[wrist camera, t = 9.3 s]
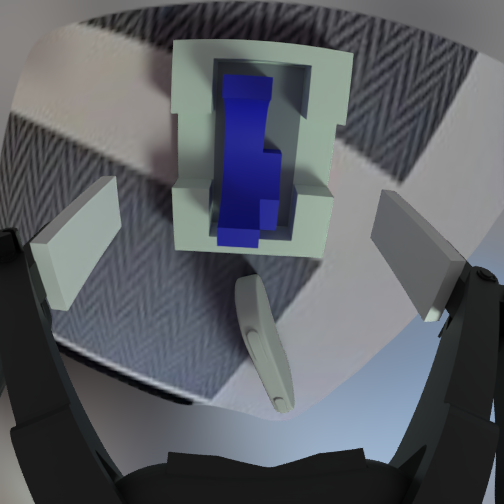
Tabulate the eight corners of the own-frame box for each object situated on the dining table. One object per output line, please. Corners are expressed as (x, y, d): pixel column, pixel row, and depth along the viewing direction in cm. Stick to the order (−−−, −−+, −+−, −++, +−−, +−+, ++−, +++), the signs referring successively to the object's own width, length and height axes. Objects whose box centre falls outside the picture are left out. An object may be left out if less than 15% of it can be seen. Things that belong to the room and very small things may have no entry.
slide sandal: (233, 263, 33) (229, 319, 25) (255, 258, 32) (256, 313, 25) (275, 374, 42) (279, 425, 35) (291, 371, 42) (297, 422, 35)
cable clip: (273, 215, 28) (278, 249, 23) (223, 212, 28) (216, 246, 23) (287, 79, 22) (297, 79, 17) (229, 75, 22) (223, 74, 17)
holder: (182, 231, 30) (175, 249, 27) (183, 44, 21) (173, 40, 18) (315, 238, 31) (322, 257, 28) (340, 55, 22) (353, 53, 19)
